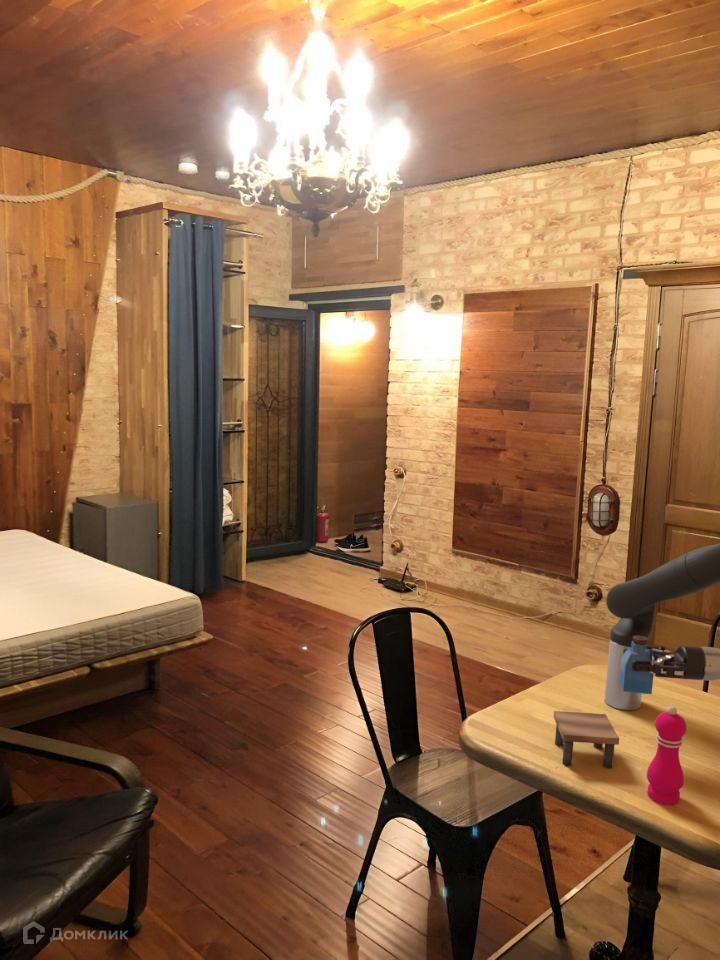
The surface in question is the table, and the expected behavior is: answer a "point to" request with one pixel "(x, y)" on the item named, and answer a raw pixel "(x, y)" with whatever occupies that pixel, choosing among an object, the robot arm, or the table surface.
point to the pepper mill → (667, 759)
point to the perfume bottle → (636, 679)
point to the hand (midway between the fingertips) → (628, 659)
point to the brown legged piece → (585, 734)
